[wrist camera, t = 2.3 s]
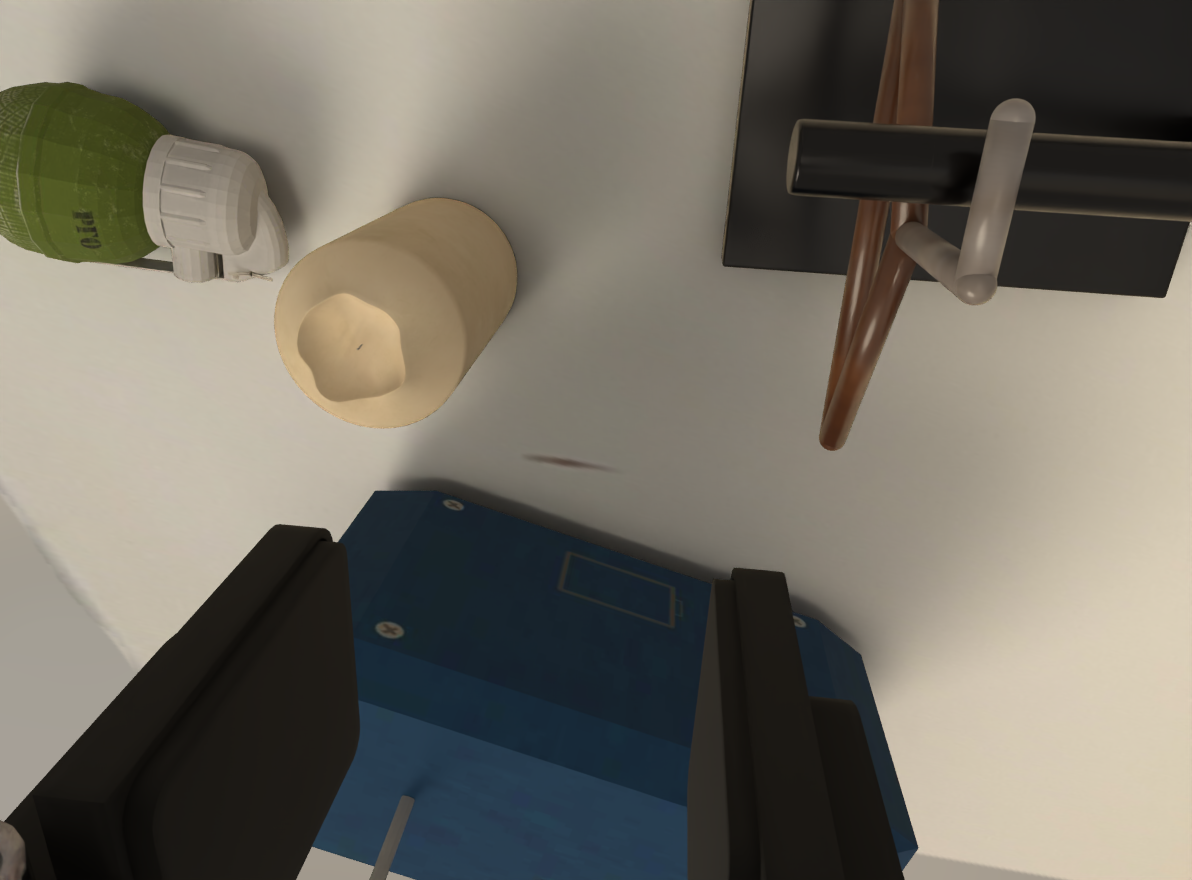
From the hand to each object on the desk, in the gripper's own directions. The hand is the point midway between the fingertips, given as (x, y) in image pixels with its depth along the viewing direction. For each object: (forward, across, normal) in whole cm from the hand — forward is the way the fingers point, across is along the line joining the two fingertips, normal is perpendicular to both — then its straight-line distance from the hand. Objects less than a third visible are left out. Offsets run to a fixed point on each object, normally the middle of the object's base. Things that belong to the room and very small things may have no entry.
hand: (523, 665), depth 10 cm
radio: (+24, 0, +16) cm, 28 cm away
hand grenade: (+20, +22, -2) cm, 30 cm away
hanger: (+14, -6, -3) cm, 16 cm away
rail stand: (+23, -10, -5) cm, 26 cm away
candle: (+24, +7, +1) cm, 25 cm away
